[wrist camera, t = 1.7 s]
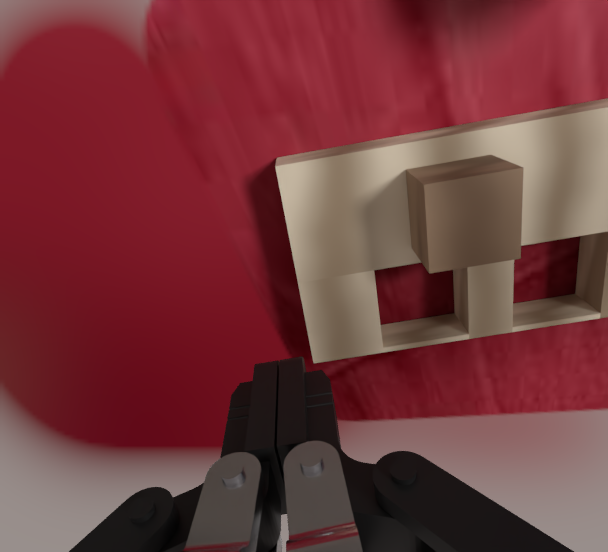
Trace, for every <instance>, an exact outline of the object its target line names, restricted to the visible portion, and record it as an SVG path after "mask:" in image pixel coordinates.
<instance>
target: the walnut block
mask: <svg viewBox="0 0 608 552" xmlns="http://www.w3.org/2000/svg"><path fill="white" fill-rule="evenodd" d="M523 168H524V167H521V166H519V165H516V164H513V163H511V162H508V161H506V160H503V159H501V158H498V157H496V156H493V155H486V156H480V157H474V158H469V159H463V160H457V161H452V162H446V163H440V164H434V165H429V166H423V167H417V168H412V169H406V182H407V195H408V208H409V221H410V234H411V247H412V249H413V251H414V252H415V254H416V255H417V257H418V258H419V259H420V261H421V262H422V264H423V265H424V267H425V268H426V269H427V271H428V272H429V274H430V273H436V272H442V271H449V270H455V269H461V268H467V267H473V266H479V265H485V264H491V263H497V262H503V261H509V260H515V259H521V232H522V200H523Z"/></svg>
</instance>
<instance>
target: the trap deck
mask: <svg viewBox="0 0 608 552" xmlns="http://www.w3.org/2000/svg"><path fill="white" fill-rule="evenodd" d="M486 155H493V156H496V157H498V158H501V159H503V160H506V161H508V162H511V163H513V164H516V165H519V166H521V167H524V168H523V200H522V232H521V246H523V245H529V244H535V243H541V242H547V241H553V240H559V239H565V238H571V237H577V236H580V246H579V257H578V268H577V279H576V291H575V294H571V295H564V296H558V297H552V298H546V299H539V300H533V301H527V302H521V303H515V304H513V286H514V260H509V261H503V262H497V263H491V264H485V265H479V266H473V267H467V268H461V269H455V270H453V283H454V311H455V313H452V314H446V315H440V316H434V317H427V318H421V319H415V320H409V321H403V322H396V323H390V324H384V325H380V316H379V308H378V299H377V290H376V282H375V273H374V270H379V269H385V268H391V267H397V266H403V265H409V264H415V263H421V261H420V259H419V258H418V257H417V255H416V254H415V252H414V251H413V249H412V247H411V234H410V221H409V208H408V195H407V182H406V169H412V168H417V167H423V166H429V165H434V164H440V163H446V162H452V161H457V160H463V159H469V158H474V157H480V156H486ZM275 168H276V173H277V178H278V183H279V189H280V194H281V199H282V204H283V209H284V214H285V219H286V224H287V230H288V235H289V240H290V245H291V250H292V255H293V260H294V266H295V271H296V276H297V281H298V286H299V291H300V296H301V301H302V307H303V312H304V317H305V322H306V327H307V332H308V337H309V342H310V348H311V353H312V358H313V363H320V362H326V361H333V360H339V359H345V358H352V357H358V356H364V355H371V354H377V353H383V352H390V351H396V350H402V349H409V348H415V347H421V346H428V345H434V344H440V343H447V342H453V341H459V340H466V339H472V338H478V337H484V336H491V335H497V334H503V333H510V332H516V331H522V330H529V329H535V328H541V327H548V326H554V325H560V324H567V323H573V322H579V321H586V320H592V319H598V318H605V317H608V98H607V99H602V100H596V101H591V102H585V103H580V104H574V105H568V106H563V107H557V108H552V109H546V110H540V111H535V112H529V113H524V114H518V115H513V116H507V117H501V118H496V119H490V120H485V121H479V122H474V123H468V124H462V125H457V126H451V127H446V128H440V129H434V130H429V131H423V132H418V133H412V134H407V135H401V136H395V137H390V138H384V139H379V140H373V141H368V142H362V143H356V144H351V145H345V146H340V147H334V148H328V149H323V150H317V151H312V152H306V153H301V154H295V155H289V156H284V157H278V158H277V159H276V165H275Z"/></svg>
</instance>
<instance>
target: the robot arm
mask: <svg viewBox="0 0 608 552" xmlns="http://www.w3.org/2000/svg"><path fill="white" fill-rule="evenodd" d="M229 409H230V410H229V413H228V421H227V424H226V430H225V435H224V441H223V447H222V452H221V458H220V459H219V460H218V461H216V462H215V463H214V464H213V465H212V467H211V468H210V469H209V471H208V472H207V475H206V478H205V481H204V483H203V484H201V485H199V486H198V487H196V488H194V489H192V490H189V491H187V492H185V493H183V494H180V495H178V496H176V497H172V495H171V494H170V492H169V491H168V490H166V489H164V488H161V487H151V488H147V489H144V490H141V491H139V492H137V493H135V494H134V495H132V496H131V497H130V498H128V499H127V500H126V501H125V502H124V503H123V504H121V505H120V506H119V507H118V508H117V509H116V510H115V511H114V512H112V513H111V514H110V515H109V516H108V517H107V518H106V519H105V520H104V521H103V522H101V523H100V524H99V525H98V526H97V527H96V528H95V529H94V530H93V531H91V532H90V533H89V534H88V535H87V536H86V537H85V538H84V539H83V540H81V541H80V542H79V543H78V544H77V545H76V546H75V547H74V548H72V549H71V550H70V551H69V552H282V539H281V535H280V531H281V515H282V514H287V518H288V530H289V540H288V541H287V542H286V552H574V551H572V550H570V549H569V548H567V547H566V546H564V545H562V544H561V543H559V542H558V541H556V540H554V539H553V538H551V537H550V536H548V535H546V534H545V533H543V532H542V531H540V530H539V529H537V528H535V527H534V526H532V525H530V524H529V523H527V522H526V521H524V520H523V519H521V518H519V517H518V516H516V515H515V514H513V513H511V512H510V511H508V510H507V509H505V508H503V507H502V506H500V505H499V504H497V503H496V502H494V501H492V500H491V499H489V498H487V497H486V496H484V495H483V494H481V493H479V492H478V491H476V490H475V489H473V488H472V487H470V486H468V485H467V484H465V483H464V482H462V481H460V480H459V479H457V478H456V477H454V476H452V475H451V474H449V473H448V472H446V471H444V470H443V469H441V468H439V467H438V466H436V465H435V464H433V463H432V462H430V461H428V460H427V459H425V458H424V457H422V456H420V455H418V454H416V453H413V452H408V451H397V452H392V453H389V454H387V455H385V456H383V457H382V458H381V459H380V460H379V461H378V462H377V463H376V464H369V463H363V462H358V461H356V460H353V459H352V458H350V457H348V456H347V455H346V454H345V453H344V452H343V451H342V449H341V445H340V438H339V431H338V425H337V424H338V423H337V417H336V411H335V405H334V400H333V394H332V389H331V383H330V379H329V378H328V377H327V376H326V375H325V373H324V372H323V371H322V370H319V371H313V372H306V368H305V363H304V359H303V357H296V358H290V359H284V360H280V362H279V361H273V362H266V363H259V364H255V367H254V375H253V381H250V382H244V383H240V384H239V386H238V387H237V389H236V390H235V391H234V393H233V394H232V396H231V401H230V407H229Z"/></svg>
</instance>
